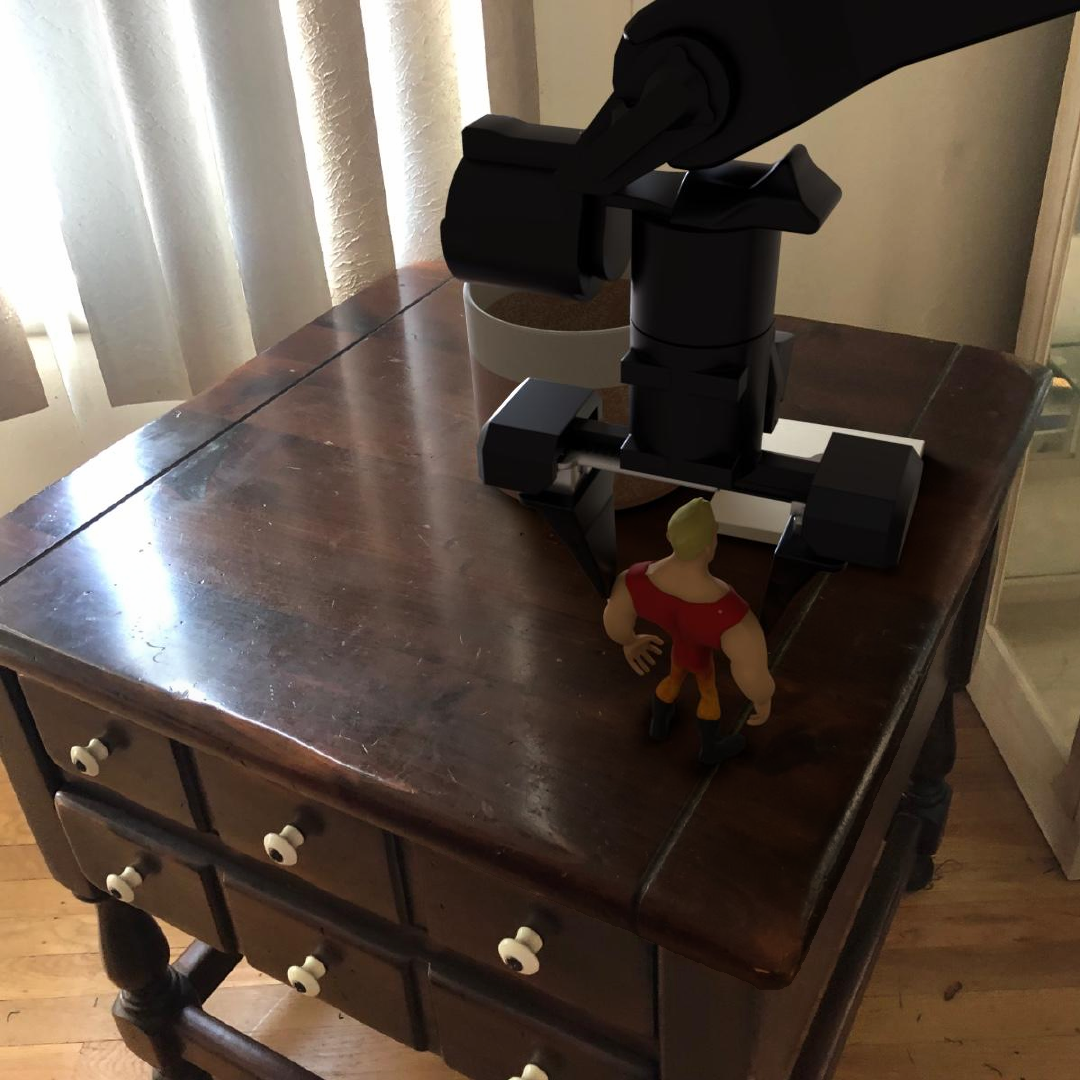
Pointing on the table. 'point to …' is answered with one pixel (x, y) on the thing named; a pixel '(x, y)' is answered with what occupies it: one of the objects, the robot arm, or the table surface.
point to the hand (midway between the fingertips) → (685, 612)
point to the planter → (555, 356)
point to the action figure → (692, 629)
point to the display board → (772, 516)
